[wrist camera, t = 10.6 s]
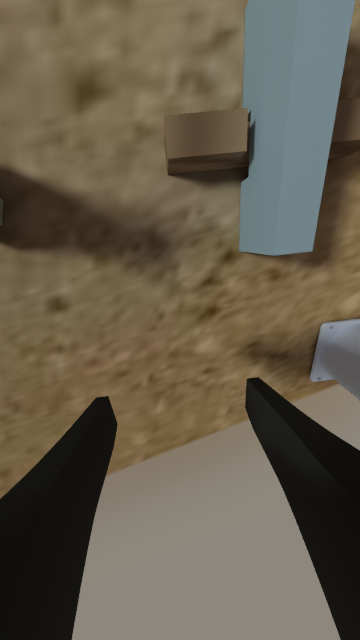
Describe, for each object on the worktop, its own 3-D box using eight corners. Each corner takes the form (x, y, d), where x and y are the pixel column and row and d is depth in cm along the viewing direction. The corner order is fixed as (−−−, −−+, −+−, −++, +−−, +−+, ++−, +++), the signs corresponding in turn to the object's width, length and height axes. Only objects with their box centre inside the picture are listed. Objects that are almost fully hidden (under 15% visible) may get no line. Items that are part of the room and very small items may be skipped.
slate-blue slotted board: (283, 7, 11) (390, -209, 6) (265, 248, 17) (312, 251, 11) (244, 11, 11) (317, -205, 6) (239, 251, 17) (274, 255, 11)
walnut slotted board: (350, 123, 14) (395, 93, 11) (343, 156, 15) (384, 137, 12) (164, 141, 14) (163, 116, 11) (168, 174, 14) (168, 158, 12)
